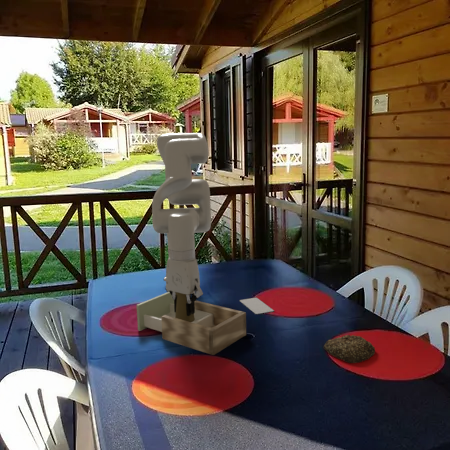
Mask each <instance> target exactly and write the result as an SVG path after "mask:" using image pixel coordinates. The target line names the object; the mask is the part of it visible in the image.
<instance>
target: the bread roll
mask: <svg viewBox="0 0 450 450" xmlns="http://www.w3.org/2000/svg"><path fill="white" fill-rule="evenodd" d="M375 347H376V346H374V345H373V343H372V342H370V341H367V340H366V338H364V337H363V336H360V335H354V334H352V335H350V334H347V335H342V336H341V337H335V338H333V339H328V340H327V341H326V342H325V344H324V345H323V349H324V350H325V351H326V352H327V353H328V354H329V355H331V356H333V357H335V358H336V359H339V360H341V361H342V362H343V361H344V362H345V363H347V364H357V363H362V362H365V361H368V360H369V359H370V358H371V357H373V356H374V355H375V353H376V348H375Z"/></svg>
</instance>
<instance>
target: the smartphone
mask: <svg viewBox="0 0 450 450" xmlns="http://www.w3.org/2000/svg"><path fill="white" fill-rule="evenodd" d="M239 302H240V303H241V304H242V305H243V306H244V307H246V308H247V309H248V310H249V311H251V312H252V313H253V314H254V315H263V313H264V314H269V312H270V313H274V312H275V310H274V309H273V308H271V307H270V306H269V305H267V304H266V303H265V302H264V301H262V300H261V299H259V298H258V297H252V298H244V299H239Z"/></svg>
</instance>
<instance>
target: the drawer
mask: <svg viewBox="0 0 450 450" xmlns="http://www.w3.org/2000/svg"><path fill="white" fill-rule="evenodd" d="M175 314H176V313H175V312H174V300H173V299H172V295H171V294H170V292H168V291H166V292H165V293H162V294H159V295H157V296H154V297H152V298H150V299H148V300H144V301H143V302H141V303H137V304H136V317H137V318H136V319H137V331H139V332H140V331H144V330H145V329H147V328H148V329H151V330H155V331H157V332H161V333H162V319H161V316H164V315H167V316H170V317H174V318H175ZM194 318H195V320H194V321H193V322H192V323H195V324H199V325H202V326H206V327H212V326H214V316H213V314H211V313H207V312H204V311H200V310H196V309H195V313H194Z"/></svg>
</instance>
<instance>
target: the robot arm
mask: <svg viewBox="0 0 450 450" xmlns="http://www.w3.org/2000/svg"><path fill="white" fill-rule="evenodd" d="M156 145H157V150H158V153H159V156H160V158H161V159H162V161H163V164H164V176H165V179H164V181H163V183H162V184H161V185H159V187H158V188H157V190H156V191H155V193H154V196H153V197H152V203H151V208H152V209H151V213H152V214H151V220H152V228H153V230H154V231H155V233H157V234H166V237H167V246H168V247H167V248H168V249H167V253H168V258H167V261H166V268H165V277H164V278H163V282H165V290H166V292H170V294H171V295H172V299H173V300H174V312H175V313H176V303H177V295H176V293H175V292H178V293H181V294H186V297H187V302H188V303H186V311H187V316H190V315H191V314H194V313H195V301H197V299H199V298H200V297H201V296H203V295H204V292H203V290H202V288H201V287H200V286H201V280H200V270H199V264H198V259H197V258H196V251H195V250H196V248H195V246H196V245H195V242H196V241H195V234H196V233H197V234H198V233H207V232H208V231H210V230H211V225H212V213H211V212H212V209H211V208H212V207H211V191H210V190H211V189H210V185H209V183H208V181H207V180H206V179H202V178H193V176H192V165H198V164H205V163H207V161H208V159H209V151H210V150H209V145H208V142H207V138H206V136H205V134H204V133H201V132H177V133H175V132H172V133H170V132H169V133H163V134H160V135H159V136H158V137H157V139H156ZM166 199H167V201H168V202H169V203H170V204H171V205H174V206H188V205H190V206H191V205H192V206H193V205H196V206H198V207H179V208H162V204H163V203H164V201H165V200H166ZM190 295H191V296H190Z"/></svg>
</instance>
